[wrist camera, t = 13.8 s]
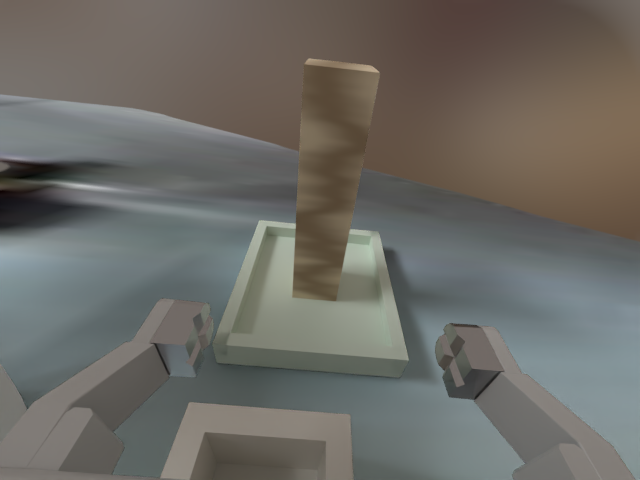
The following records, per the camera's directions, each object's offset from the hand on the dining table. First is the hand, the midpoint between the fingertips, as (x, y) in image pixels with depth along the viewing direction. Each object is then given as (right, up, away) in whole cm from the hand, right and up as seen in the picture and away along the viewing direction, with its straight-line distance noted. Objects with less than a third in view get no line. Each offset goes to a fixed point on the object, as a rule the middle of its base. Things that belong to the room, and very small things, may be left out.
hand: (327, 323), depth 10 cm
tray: (-1, -2, +18) cm, 18 cm away
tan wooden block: (-1, -1, +17) cm, 17 cm away
